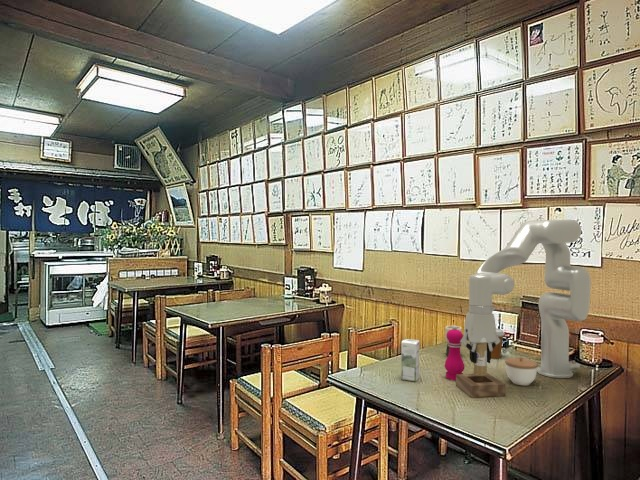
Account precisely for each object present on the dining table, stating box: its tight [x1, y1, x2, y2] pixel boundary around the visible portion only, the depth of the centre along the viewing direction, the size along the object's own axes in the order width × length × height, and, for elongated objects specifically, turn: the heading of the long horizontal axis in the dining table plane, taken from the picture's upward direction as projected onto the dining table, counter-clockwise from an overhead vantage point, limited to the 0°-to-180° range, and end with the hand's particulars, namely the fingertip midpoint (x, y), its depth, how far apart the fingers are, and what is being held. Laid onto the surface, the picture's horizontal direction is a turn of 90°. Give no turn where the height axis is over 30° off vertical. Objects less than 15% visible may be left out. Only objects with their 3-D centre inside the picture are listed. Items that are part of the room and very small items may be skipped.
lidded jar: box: [504, 356, 538, 386], centre depth 161 cm, size 11×11×9 cm
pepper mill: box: [444, 324, 465, 381], centre depth 166 cm, size 7×7×20 cm
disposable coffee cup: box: [491, 327, 505, 360], centre depth 195 cm, size 10×10×12 cm
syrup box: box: [400, 338, 420, 383], centre depth 165 cm, size 6×6×14 cm
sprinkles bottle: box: [472, 338, 488, 376], centre depth 153 cm, size 5×5×13 cm
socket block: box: [455, 372, 506, 399], centre depth 153 cm, size 12×12×4 cm
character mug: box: [444, 325, 463, 356], centre depth 196 cm, size 11×7×13 cm, turn 140°
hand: (480, 361), depth 153 cm, fingers closed on sprinkles bottle, 4 cm apart
